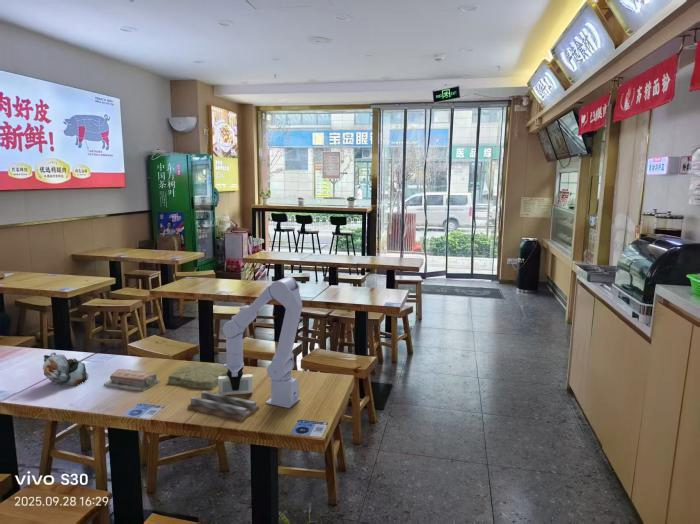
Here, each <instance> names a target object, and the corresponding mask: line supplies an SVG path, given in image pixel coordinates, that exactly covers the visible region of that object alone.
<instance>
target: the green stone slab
mask: <svg viewBox="0 0 700 524" xmlns="http://www.w3.org/2000/svg"><path fill="white" fill-rule="evenodd" d="M227 372H229V371H228V368H227V367H224V364H217V363H216V364H215V363H214V364H213V363H208V362H207V363H205V362H204V363H203V362H196V361H191V362H188V363H187V364H184V365H182V366H181V367H179V368H178V369H176V370H175V371H173V372H171V374H170V375H168V380H167V383H168V385H169V384H170V385H180V386H181V385H182V386H187V387H189V388H196V389H197V388H199V389H206V390H207V389H208V390H213V389H215V388H216V387H217V386H218V377H219V376H227Z"/></svg>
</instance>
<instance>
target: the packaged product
mask: <svg viewBox="0 0 700 524" xmlns="http://www.w3.org/2000/svg"><path fill="white" fill-rule="evenodd" d="M158 382H159V383H160V382H161V380H160V378H157V374H156V373H154V372H148V371H141V370H134V369H125V368H119V369H118V368H117V369H116V370H115V371H114V372H113V373H112V374H111V375H110V377H109V380H107V381H106V382H105V383H103V386H105V385H108V386H107V387H113V386H115V387H114V388H118V387H120V388H119V389H124V388H125V389H124V390H134V391H140V392H145V391H146V390H148V389H150V388H152V387H153V386H155V385H157V384H159V383H158ZM144 390H145V391H144Z"/></svg>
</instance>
